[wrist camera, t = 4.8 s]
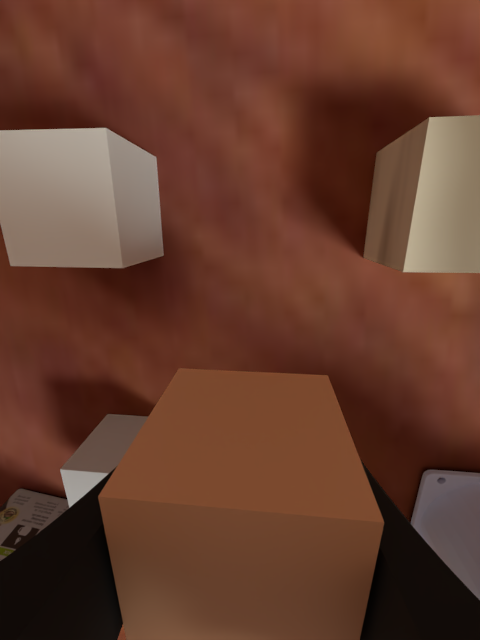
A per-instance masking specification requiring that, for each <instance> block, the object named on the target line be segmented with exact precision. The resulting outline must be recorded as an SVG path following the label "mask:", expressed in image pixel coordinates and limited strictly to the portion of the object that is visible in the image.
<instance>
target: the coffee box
mask: <svg viewBox="0 0 480 640" xmlns="http://www.w3.org/2000/svg"><path fill="white" fill-rule="evenodd" d="M67 509H69V504H68V500H67V499H63V498H59V497H54V496H50V495H46V494H42V493H37V492H33V491H29V490H25V489H18V490H17V491H16V492H15V493H14V494H13V495H12V496H11V497H10V498H9V499H8V500H7V501H6V502H5V503H4V504H3V505H2V506H1V508H0V561H1V560H2V559H4V558H5V557H7V556H8V555H9V554H11V553H12V552H13V551H15V550H16V549H18V548H19V547H20V546H22V545H23V544H24V543H26V542H27V541H28V540H30V539H31V538H32V537H34V536H35V535H36V534H38V533H39V532H40V531H42V530H43V529H44V528H45V527H47V526H48V525H49V524H50V523H52V522H53V521H54V520H55V519H57V518H58V517H59V516H60V515H61V514H63V513H64V512H65V511H66V510H67Z"/></svg>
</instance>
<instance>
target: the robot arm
mask: <svg viewBox="0 0 480 640" xmlns="http://www.w3.org/2000/svg"><path fill="white" fill-rule="evenodd" d="M361 463H362V466H363V468H364V471H365V473H366V476H367V479H368V481H369V484H370V486H371V489H372V492H373V494H374V497H375V499H376V502H377V505H378V507H379V510H380V512H381V515H382V518H383V520H384V527H383V531H382V536H381V541H380V546H379V550H378V555H377V560H376V565H375V569H374V574H373V579H372V584H371V588H370V593H369V598H368V603H367V607H366V612H365V617H364V622H363V626H362V631H361V636H360V640H480V473H472V472H459V471H445V470H427V471H425V472H424V473H423V475H422V479H421V483H420V487H419V491H418V495H417V499H416V503H415V507H414V511H413V515H412V519H411V523H410V522H409V521H408V520H407V519H406V517H405V516H404V515H403V514H402V513H401V511H400V510H399V509H398V508H397V506H396V505H395V504H394V503H393V502H392V500H391V499H390V498H389V496H388V495H387V494H386V493H385V491H384V490H383V489H382V487H381V486H380V485H379V484H378V482H377V481H376V480H375V478H374V477H373V476H372V474H371V473H370V472H369V470H368V469H367V468H366V466H365V465H364V464H363V462H362V461H361ZM117 466H118V465H117ZM117 466H116V467H117ZM116 467H115V468H114V469H113V470H112V471H111V472H110V473H109V474H108V475H107V476H105V477H104V478H103V479H102V480H101V481H100V482H99V483H98V484H97V485H95V486H94V487H93V488H92V489H91V490H90V491H89V492H88V493H86V494H85V495H84V496H83V497H82V498H81V499H79V500H78V501H77V502H76V503H75V504H73V505H72V506H71V507H70V508H69V509H67V510H66V511H65V512H64V513H63V514H61V515H60V516H59V517H58V518H57V519H55V520H54V521H53V522H52V523H50V524H49V525H48V526H47V527H45V528H44V529H43V530H42V531H40V532H39V533H38V534H36V535H35V536H34V537H32V538H31V539H30V540H28V541H27V542H26V543H24V544H23V545H22V546H20V547H19V548H18V549H16V550H15V551H13V552H12V553H11V554H9V555H8V556H7V557H5V558H4V559H2V560H1V561H0V640H117V638H118V636H119V633H120V630H121V627H122V625H123V620H122V615H121V610H120V605H119V600H118V595H117V590H116V585H115V579H114V574H113V569H112V564H111V559H110V554H109V549H108V544H107V539H106V534H105V529H104V524H103V519H102V514H101V509H100V504H99V499H98V496H99V494H100V493H101V491H102V490H103V488H104V486H105V485H106V483H107V482H108V480H109V478H110V477H111V475H112V474H113V472H114V471H115V469H116ZM438 478H439V479H438Z"/></svg>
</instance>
